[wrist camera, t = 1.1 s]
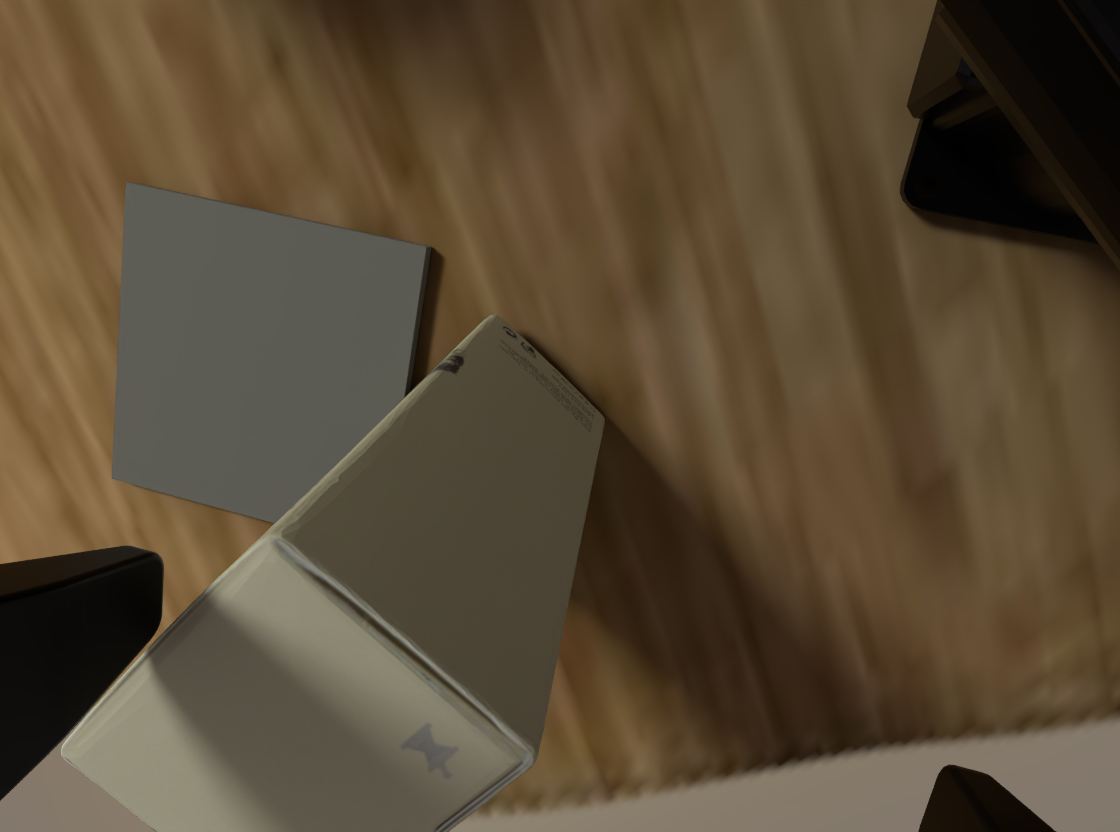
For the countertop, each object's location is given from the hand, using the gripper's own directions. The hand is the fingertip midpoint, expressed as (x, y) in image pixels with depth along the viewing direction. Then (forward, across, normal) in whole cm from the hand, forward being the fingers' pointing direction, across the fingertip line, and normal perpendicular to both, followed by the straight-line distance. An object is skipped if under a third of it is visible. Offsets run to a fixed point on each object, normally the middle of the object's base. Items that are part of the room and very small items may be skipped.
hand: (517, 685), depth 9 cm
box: (+13, +4, +1) cm, 14 cm away
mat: (+13, +11, +1) cm, 17 cm away
